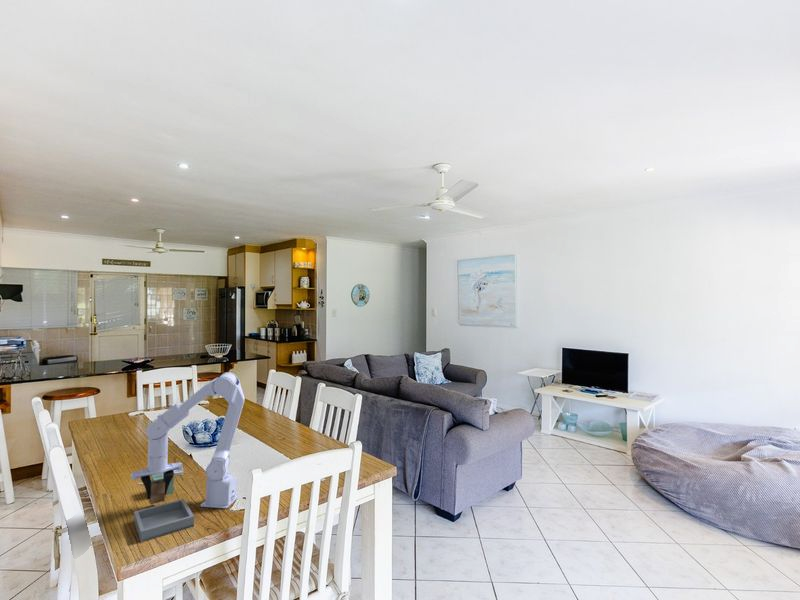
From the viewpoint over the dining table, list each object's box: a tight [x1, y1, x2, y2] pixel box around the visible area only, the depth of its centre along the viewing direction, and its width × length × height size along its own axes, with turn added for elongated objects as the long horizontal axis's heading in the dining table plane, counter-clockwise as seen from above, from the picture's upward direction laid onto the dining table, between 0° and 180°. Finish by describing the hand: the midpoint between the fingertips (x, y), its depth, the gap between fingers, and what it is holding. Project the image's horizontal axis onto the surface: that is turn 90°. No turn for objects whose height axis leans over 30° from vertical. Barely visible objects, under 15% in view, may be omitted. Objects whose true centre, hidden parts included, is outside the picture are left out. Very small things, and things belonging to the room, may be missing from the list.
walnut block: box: [148, 479, 166, 505], centre depth 136 cm, size 4×4×6 cm
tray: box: [133, 498, 195, 543], centre depth 126 cm, size 14×14×3 cm
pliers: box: [137, 468, 184, 486], centre depth 159 cm, size 10×2×15 cm
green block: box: [150, 473, 175, 496], centre depth 146 cm, size 6×6×8 cm
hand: (156, 495), depth 136 cm, fingers closed on walnut block, 4 cm apart
